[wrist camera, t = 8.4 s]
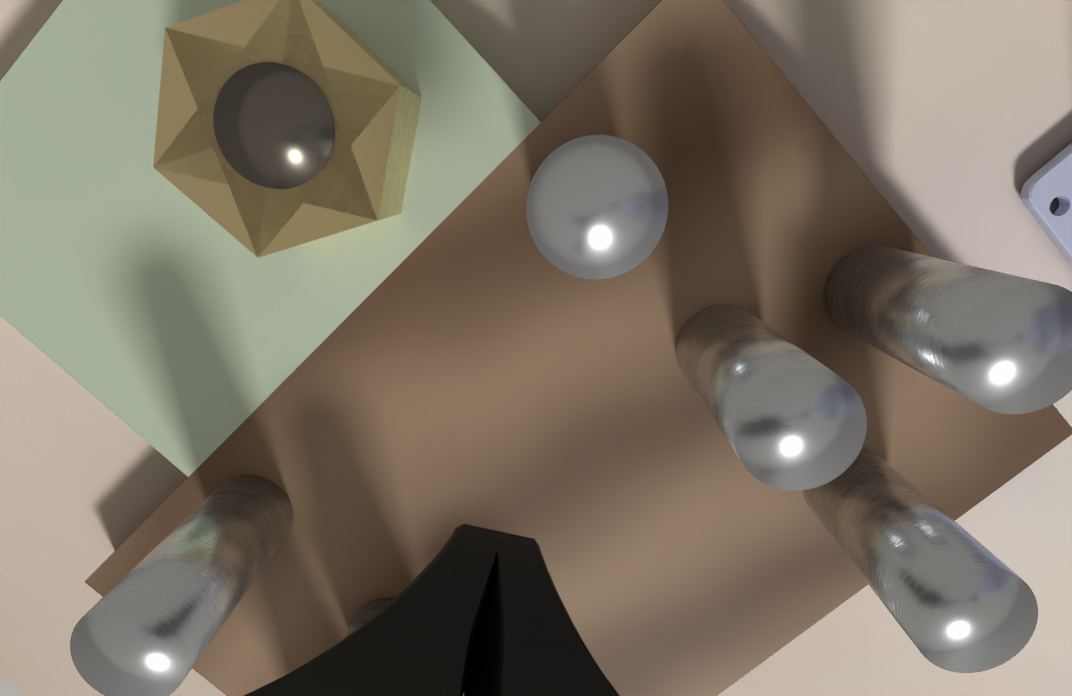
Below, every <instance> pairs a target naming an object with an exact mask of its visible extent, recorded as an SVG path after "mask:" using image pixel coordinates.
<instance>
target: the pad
mask: <svg viewBox="0 0 1072 696" xmlns="http://www.w3.org/2000/svg"><path fill="white" fill-rule="evenodd" d="M240 1H243V0H63V1H62V2H61V3H60V5H59V6H58V7H57V9H56V10H55V11H54V12H53V14H52V15H51V16H50V18H49V19H48V20H47V22H46V23H45V24H44V25H43V27H42V28H41V29H40V31H39V32H38V33H37V34H36V36H35V37H34V38H33V40H32V41H31V42H30V43H29V45H28V46H27V47H26V49H25V50H24V51H23V52H22V54H21V55H20V56H19V58H18V59H17V60H16V62H15V63H14V64H13V65H12V67H11V68H10V69H9V71H8V72H7V73H6V74H5V76H4V77H3V78H2V80H1V81H0V316H1V317H3V318H4V319H5V320H6V321H7V322H8V323H10V324H11V325H12V326H13V327H14V328H15V329H17V330H18V331H19V332H20V333H21V334H22V335H24V336H25V337H26V338H27V339H28V340H29V341H31V342H32V343H33V344H34V345H35V346H36V347H37V348H39V349H40V350H41V351H42V352H43V353H44V354H46V355H47V356H48V357H49V358H50V359H51V360H53V361H54V362H55V363H56V364H57V365H58V366H60V367H61V368H62V369H63V370H64V371H65V372H67V373H68V374H69V375H70V376H71V377H72V378H74V379H75V380H76V381H77V382H78V383H79V384H80V385H82V386H83V387H84V388H85V389H86V390H87V391H89V392H90V393H91V394H92V395H93V396H94V397H96V398H97V399H98V400H99V401H100V402H101V403H103V404H104V405H105V406H106V407H107V408H108V409H110V410H111V411H112V412H113V413H114V414H115V415H117V416H118V417H119V418H120V419H121V420H122V421H123V422H125V423H126V424H127V425H128V426H129V427H130V428H132V429H133V430H134V431H135V432H136V433H137V434H139V435H140V436H141V437H142V438H143V439H144V440H146V441H147V442H148V443H149V444H150V445H151V446H153V447H154V448H155V449H156V450H157V451H158V452H160V453H161V454H162V455H163V456H164V457H165V458H166V459H168V460H169V461H170V462H171V463H172V464H173V465H175V466H176V467H177V468H178V469H179V470H180V471H182V472H183V473H184V474H185V475H186V476H187V477H189V476H190V475H191V474H192V473H193V472H194V471H195V470H196V469H197V468H198V467H199V466H200V465H201V464H202V463H203V462H204V461H205V460H206V459H207V458H208V457H209V456H210V455H211V454H212V453H213V452H214V451H215V450H216V449H217V448H218V447H219V446H220V445H221V444H222V443H223V442H224V441H225V440H226V439H227V438H228V437H229V436H230V435H231V434H232V433H233V432H234V431H235V430H236V429H237V428H238V427H239V426H240V425H241V424H242V423H243V422H244V421H245V420H246V419H247V418H248V417H249V416H250V415H251V414H252V413H253V412H254V411H255V410H256V409H257V408H258V407H259V406H260V405H261V404H262V403H263V402H264V401H265V400H266V399H267V398H268V397H269V396H270V394H271V393H272V392H273V391H274V390H275V389H276V388H277V387H278V386H279V385H280V384H281V383H282V382H283V381H284V380H285V379H286V378H287V377H288V376H289V375H290V374H291V373H292V372H293V371H294V370H295V369H296V368H297V367H298V366H299V365H300V364H301V363H302V362H303V361H304V360H305V359H306V358H307V357H308V356H309V355H310V354H311V353H312V352H313V351H314V350H315V349H316V348H317V347H318V346H319V345H320V344H321V343H322V342H323V341H324V340H325V339H326V338H327V337H328V336H329V335H330V334H331V333H332V332H333V331H334V330H335V329H336V328H337V327H338V326H339V325H340V324H341V323H342V322H343V321H344V320H345V319H346V318H347V317H348V316H349V315H350V314H351V313H352V312H353V311H354V310H355V309H356V308H357V307H358V306H359V305H360V304H361V303H362V302H363V301H364V300H365V299H366V298H367V297H368V296H369V295H370V294H371V293H372V292H373V291H374V290H375V289H376V288H377V287H378V286H379V285H380V284H381V283H382V282H383V281H384V280H385V279H386V278H387V277H388V276H389V275H390V274H391V273H392V272H393V271H394V270H395V269H396V268H397V267H398V266H399V265H400V264H401V263H402V262H403V261H404V260H405V259H406V258H407V257H408V256H409V255H410V254H411V253H412V252H413V251H414V250H415V249H416V248H417V247H418V246H419V245H420V244H421V243H422V242H423V241H424V240H425V239H426V238H427V237H428V236H429V234H430V233H431V232H432V231H433V230H434V229H435V228H436V227H437V226H438V225H439V224H440V223H441V222H442V221H443V220H444V219H445V218H446V217H447V216H448V215H449V214H450V213H451V212H452V211H453V210H454V209H455V208H456V207H457V206H458V205H459V204H460V203H461V202H462V201H463V200H464V199H465V198H466V197H467V196H468V195H469V194H470V193H471V192H472V191H473V190H474V189H475V188H476V187H477V186H478V185H479V184H480V183H481V182H482V181H483V180H484V179H485V178H486V177H487V176H488V175H489V174H490V173H491V172H492V171H493V170H494V169H495V168H496V167H497V166H498V165H499V164H500V163H501V162H502V161H503V160H504V159H505V158H506V157H507V156H508V155H509V154H510V153H511V152H512V151H513V150H514V149H515V148H516V147H517V146H518V145H519V144H520V143H521V142H522V141H523V140H524V139H525V138H526V137H527V136H528V135H529V134H530V133H531V132H532V131H533V130H534V129H535V128H536V127H537V126H538V125H539V124H540V123H541V122H540V121H539V119H538V118H537V117H536V116H535V115H534V114H533V113H532V112H531V111H530V110H529V108H528V107H527V106H526V105H525V104H524V103H523V102H522V101H521V100H520V99H519V97H518V96H517V95H516V94H515V93H514V92H513V91H512V90H511V89H510V88H509V86H508V85H507V84H506V83H505V82H504V81H503V80H502V79H501V78H500V77H499V75H498V74H497V73H496V72H495V71H494V70H493V69H492V68H491V67H490V66H489V64H488V63H487V62H486V61H485V60H484V59H483V58H482V57H481V56H480V55H479V53H478V52H477V51H476V50H475V49H474V48H473V47H472V46H471V45H470V44H469V43H468V41H467V40H466V39H465V38H464V37H463V36H462V35H461V34H460V33H459V32H458V30H457V29H456V28H455V27H454V26H453V25H452V24H451V23H450V22H449V21H448V19H447V18H446V17H445V16H444V15H443V14H442V13H441V12H440V11H439V10H438V8H437V7H436V6H435V5H434V4H433V3H432V2H431V1H430V0H317V1H319V2H320V3H321V4H323V5H324V6H326V7H327V8H328V9H330V10H331V11H332V12H333V13H334V14H335V15H336V16H337V17H338V18H339V19H340V20H341V21H343V22H344V23H345V24H346V25H347V26H348V27H349V28H350V29H351V30H352V31H353V32H354V33H355V34H356V35H357V36H358V37H359V38H360V39H361V40H362V41H363V42H364V43H365V44H367V45H368V46H369V47H370V48H371V49H372V50H373V51H374V52H375V53H376V54H377V55H378V56H379V57H380V58H381V59H382V60H383V61H384V62H385V63H386V64H387V65H388V66H389V67H391V68H392V69H393V70H394V71H395V72H396V73H397V74H398V75H399V76H400V77H401V78H402V79H403V80H404V81H405V82H406V83H407V84H408V85H409V86H410V87H411V88H412V89H413V90H414V91H416V92H417V93H418V94H419V95H420V96H421V97H422V101H421V107H420V112H419V118H418V123H417V129H416V134H415V140H414V145H413V151H412V157H411V162H410V168H409V173H408V179H407V184H406V190H405V195H404V201H403V207H402V212H401V214H398V215H395V216H392V217H389V218H385V219H382V220H379V221H376V222H373V223H369V224H366V225H363V226H360V227H357V228H353V229H350V230H347V231H344V232H341V233H337V234H334V235H331V236H328V237H325V238H321V239H318V240H315V241H312V242H309V243H305V244H302V245H299V246H296V247H292V248H289V249H286V250H282V251H279V252H276V253H272V254H269V255H266V256H262V257H259V258H257V257H256V256H255V255H254V254H253V253H252V252H250V251H249V250H248V249H247V248H246V247H245V246H244V245H242V244H241V243H240V242H239V241H238V240H237V239H235V238H234V237H233V236H232V235H231V234H230V233H229V232H227V231H226V230H225V229H224V228H223V227H222V226H220V225H219V224H218V223H217V222H216V221H215V220H213V219H212V218H211V217H210V216H209V215H208V214H207V213H205V212H204V211H203V210H202V209H201V208H200V207H198V206H197V205H196V204H195V203H194V202H193V201H192V200H190V199H189V198H188V197H187V196H186V195H185V194H183V193H182V192H181V191H180V190H179V189H178V188H176V187H175V186H174V185H173V184H172V183H171V182H170V181H168V180H167V179H166V178H165V177H164V176H163V175H161V174H160V173H159V172H158V171H157V170H156V169H155V168H153V163H154V151H155V139H156V128H157V116H158V104H159V93H160V81H161V70H162V58H163V46H164V35H165V28H166V27H168V26H171V25H174V24H177V23H180V22H183V21H186V20H188V19H191V18H194V17H197V16H200V15H203V14H206V13H208V12H211V11H214V10H217V9H220V8H223V7H226V6H228V5H231V4H234V3H237V2H240Z"/></svg>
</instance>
